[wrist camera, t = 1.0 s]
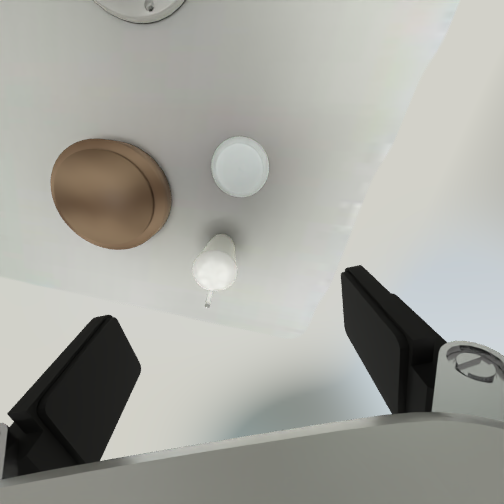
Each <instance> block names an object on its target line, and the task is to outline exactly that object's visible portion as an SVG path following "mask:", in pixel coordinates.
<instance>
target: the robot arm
mask: <svg viewBox="0 0 504 504" xmlns="http://www.w3.org/2000/svg"><path fill="white" fill-rule="evenodd" d="M94 1H95V2H96V3H97V4H98V5H99V6H100V7H102V8H103V9H104V10H106V11H107V12H108V13H110V14H112V15H114V16H116V17H118V18H120V19H123V20H126V21H130V22H134V23H149V22H154V21H159V20H161V19H163V18H165V17H167V16H169V15H170V14H172V13H173V12H174V11H175V10H177V9H178V8H179V7H180V6H181V5H182V3H183V2H184V1H185V0H94ZM151 8H154V9H153V11H151V12H150V10H151ZM341 284H342V298H343V312H344V326H345V331H346V333H347V336H348V337H349V339H350V341H351V343H352V344H353V346H354V348H355V350H356V351H357V353H358V355H359V357H360V358H361V360H362V362H363V364H364V365H365V367H366V369H367V371H368V372H369V374H370V376H371V378H372V379H373V381H374V383H375V385H376V386H377V388H378V390H379V392H380V394H381V395H382V397H383V399H384V400H385V402H386V404H387V406H388V407H389V409H390V411H391V413H392V414H391V415H381V416H374V417H367V418H360V419H353V420H346V421H339V422H332V423H325V424H319V425H313V426H307V427H301V428H295V429H288V430H282V431H276V432H270V433H264V434H258V435H251V436H245V437H239V438H233V439H227V440H221V441H215V442H209V443H203V444H197V445H192V446H185V447H180V448H174V449H168V450H163V451H156V452H150V453H144V454H139V455H133V456H127V457H122V458H116V459H110V460H104V461H100V459H101V457H102V455H103V453H104V451H105V448H106V446H107V444H108V442H109V440H110V438H111V435H112V433H113V431H114V429H115V427H116V424H117V423H118V420H119V418H120V416H121V414H122V412H123V410H124V407H125V405H126V403H127V401H128V399H129V397H130V394H131V392H132V390H133V388H134V385H135V384H136V381H137V379H138V377H139V375H140V372H141V365H140V363H139V361H138V359H137V357H136V355H135V353H134V351H133V349H132V347H131V345H130V343H129V342H128V340H127V338H126V336H125V334H124V332H123V330H122V328H121V326H120V324H119V322H118V320H117V319H116V318H114V317H112V316H111V315H105V316H100V317H96V318H93V319H92V320H91V321H90V322H89V323H88V324H87V326H86V327H85V328H84V329H83V330H82V331H81V332H80V333H79V335H78V336H77V337H76V338H75V339H74V340H73V341H72V342H71V343H70V345H69V346H68V347H67V348H66V349H65V350H64V351H63V352H62V353H61V355H60V356H59V357H58V358H57V359H56V360H55V361H54V362H53V363H52V365H51V366H50V367H49V368H48V369H47V370H46V371H45V372H44V374H43V375H42V376H41V377H40V378H39V379H38V380H37V381H36V383H35V384H34V385H33V386H32V387H31V388H30V389H29V390H28V391H27V392H26V394H25V395H24V396H23V397H22V398H21V399H20V400H19V401H18V402H17V404H16V405H15V406H14V407H13V408H12V409H11V410H10V411H9V412H8V415H9V416H10V417H11V419H12V420H13V421H14V423H13V424H12V425H11V426H10V427H8V426H7V425H6V424H4V423H0V504H504V356H503V355H501V354H500V353H498V352H497V351H495V350H493V349H490V348H489V347H486V346H483V345H480V344H477V343H473V342H467V341H453V342H449V343H447V342H446V341H445V340H444V339H443V338H442V337H441V336H440V335H439V334H437V333H436V332H435V331H434V330H433V329H432V328H431V327H430V326H429V325H428V324H427V323H426V322H425V321H424V320H422V319H421V318H420V317H419V316H418V315H417V314H416V313H415V312H414V311H412V309H411V308H410V307H408V306H407V305H406V304H405V303H404V302H403V301H402V300H401V299H400V298H399V297H398V296H396V295H395V294H391V293H390V292H389V291H388V290H387V289H386V288H384V287H383V286H382V285H381V284H380V283H379V282H378V281H377V280H376V279H375V278H374V277H373V276H372V275H371V274H370V273H369V272H368V271H367V270H365V268H363V267H362V266H361V265H359V266H354V267H350V268H346V269H345V272H342V273H341Z"/></svg>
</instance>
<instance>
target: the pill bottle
mask: <svg viewBox="0 0 504 504" xmlns="http://www.w3.org/2000/svg"><path fill="white" fill-rule="evenodd" d="M211 171H212V175H213V178H214V181H215V183H216V184H217V186H218V187H219V188H220V189H221V190H222V191H223V192H225V193H226V194H228V195H231V196H234V197H248V196H251V195H253V194H255V193H256V192H258V191H259V190H260V189H261V188H262V187H263V185H264V184H265V182H266V180H267V177H268V174H269V161H268V157H267V154H266V152H265V150H264V149H263V148H262V146H261V145H260V144H259V143H258V142H256V141H255V140H253V139H251V138H248V137H243V136H236V137H231V138H229V139H227V140H225V141H224V142H222V143H221V144H220V145H219V146H218V147H217V149H216V150H215V152H214V155H213V157H212V162H211Z"/></svg>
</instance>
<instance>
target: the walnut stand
mask: <svg viewBox="0 0 504 504" xmlns="http://www.w3.org/2000/svg"><path fill="white" fill-rule="evenodd" d="M51 192H52V197H53V200H54V203H55V206H56V208H57V210H58V212H59V214H60V215H61V217H62V219H63V220H64V221H65V223H66V224H67V225H68V226H69V227H70V228H71V229H72V230H73V231H74V232H75V233H76V234H77V235H79V236H80V237H82V238H83V239H85V240H86V241H88V242H90V243H92V244H94V245H97V246H100V247H103V248H108V249H116V250H120V249H129V248H133V247H136V246H138V245H141V244H143V243H144V242H146V241H147V240H148V239H150V238H151V237H152V236H153V235H154V234H156V233H157V232H158V231H159V230H160V229H161V228H162V227H163V226H164V224H165V222H166V221H167V219H168V216H169V213H170V210H171V191H170V187H169V183H168V181H167V178H166V176H165V174H164V173H163V171H162V169H161V168H160V167H159V165H158V164H157V163H156V162H155V161H154V159H153V158H151V157H150V156H149V155H148V154H147V153H145V152H144V151H142V150H141V149H139V148H137V147H135V146H133V145H131V144H128V143H124V142H120V141H113V140H105V139H87V140H82V141H79V142H76V143H74V144H73V145H71V146H69V147H68V148H67V149H65V150H64V151H63V152H62V153H61V154H60V156H59V157H58V159H57V160H56V162H55V164H54V167H53V170H52V174H51Z"/></svg>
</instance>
